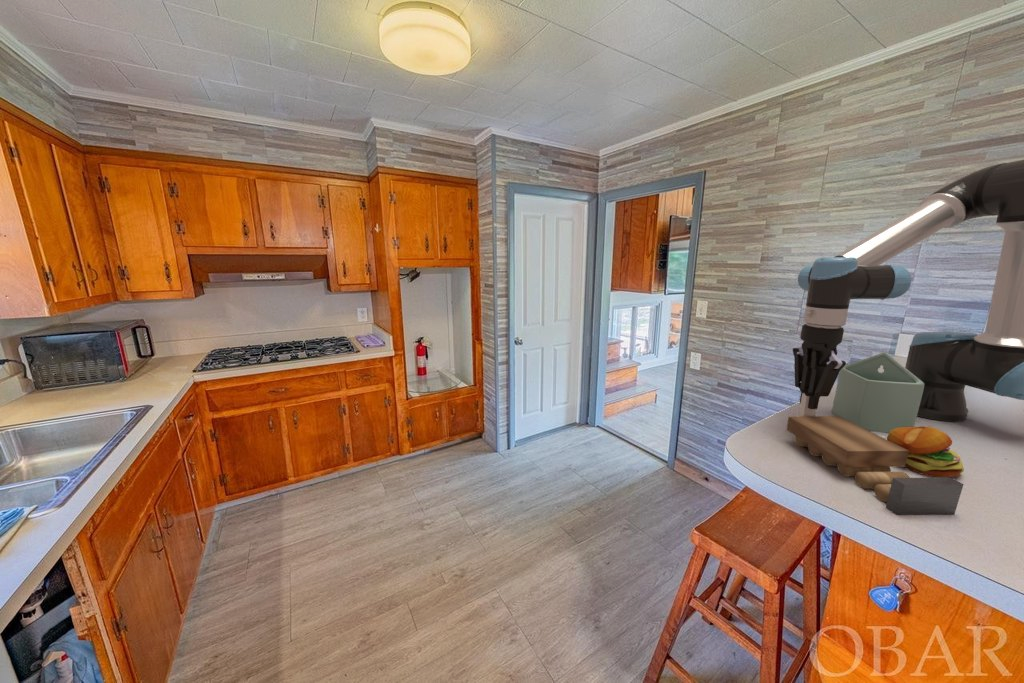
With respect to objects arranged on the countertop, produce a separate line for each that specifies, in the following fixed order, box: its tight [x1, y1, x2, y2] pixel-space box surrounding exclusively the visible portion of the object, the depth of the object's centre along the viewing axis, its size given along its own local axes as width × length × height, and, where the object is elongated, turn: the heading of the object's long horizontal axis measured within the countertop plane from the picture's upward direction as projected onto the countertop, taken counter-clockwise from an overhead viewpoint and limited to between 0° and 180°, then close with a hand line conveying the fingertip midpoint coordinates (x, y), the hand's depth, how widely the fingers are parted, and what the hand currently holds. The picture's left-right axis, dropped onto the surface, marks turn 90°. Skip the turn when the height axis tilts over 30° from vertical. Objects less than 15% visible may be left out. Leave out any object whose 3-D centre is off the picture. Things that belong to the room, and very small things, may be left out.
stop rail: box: [885, 477, 964, 516], centre depth 64 cm, size 10×2×6 cm, turn 90°
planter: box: [831, 351, 924, 434], centre depth 95 cm, size 16×8×20 cm, turn 29°
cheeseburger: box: [886, 426, 965, 478], centre depth 78 cm, size 10×11×10 cm
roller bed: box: [794, 435, 911, 503], centre depth 77 cm, size 8×23×3 cm, turn 0°
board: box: [786, 415, 909, 468], centre depth 80 cm, size 12×16×4 cm
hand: (805, 418), depth 90 cm, fingers closed
